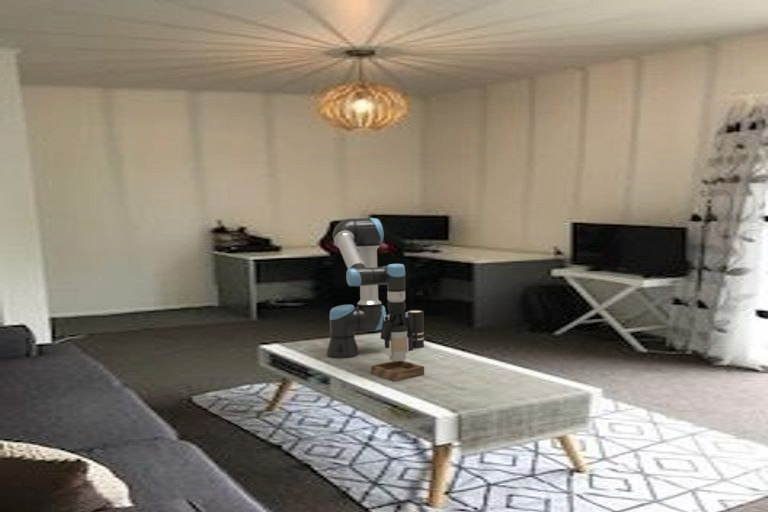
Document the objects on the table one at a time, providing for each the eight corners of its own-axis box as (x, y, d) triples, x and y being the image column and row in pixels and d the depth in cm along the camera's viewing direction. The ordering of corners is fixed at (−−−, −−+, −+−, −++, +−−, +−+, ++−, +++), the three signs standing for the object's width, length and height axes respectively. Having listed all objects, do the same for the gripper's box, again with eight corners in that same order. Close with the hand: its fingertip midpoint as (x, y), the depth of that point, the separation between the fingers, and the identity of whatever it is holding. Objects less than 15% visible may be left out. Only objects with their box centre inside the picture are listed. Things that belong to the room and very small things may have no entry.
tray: (371, 373, 296) (371, 365, 296) (400, 367, 306) (400, 359, 306) (394, 381, 284) (394, 373, 283) (424, 374, 293) (424, 366, 293)
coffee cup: (408, 356, 298) (408, 322, 297) (407, 361, 289) (407, 326, 288) (387, 356, 299) (387, 322, 298) (385, 361, 290) (385, 326, 289)
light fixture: (428, 346, 346) (428, 311, 345) (409, 351, 337) (409, 314, 335) (414, 343, 353) (413, 309, 352) (395, 348, 344) (394, 312, 342)
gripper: (382, 304, 282) (383, 359, 284) (421, 299, 296) (422, 351, 298) (370, 302, 288) (371, 356, 290) (410, 297, 301) (410, 348, 303)
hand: (397, 353), depth 294 cm, fingers closed on coffee cup, 8 cm apart
